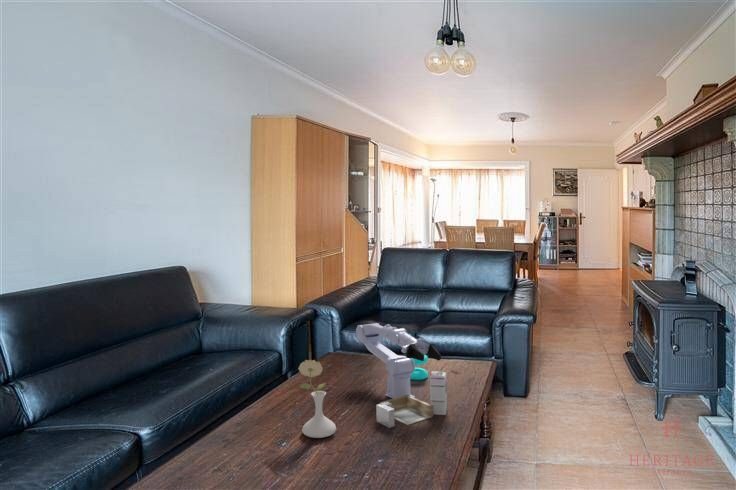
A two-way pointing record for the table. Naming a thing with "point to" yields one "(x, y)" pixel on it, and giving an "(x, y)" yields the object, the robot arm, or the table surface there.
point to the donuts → (419, 370)
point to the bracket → (385, 414)
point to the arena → (410, 409)
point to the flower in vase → (316, 404)
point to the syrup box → (438, 392)
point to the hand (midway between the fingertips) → (431, 358)
